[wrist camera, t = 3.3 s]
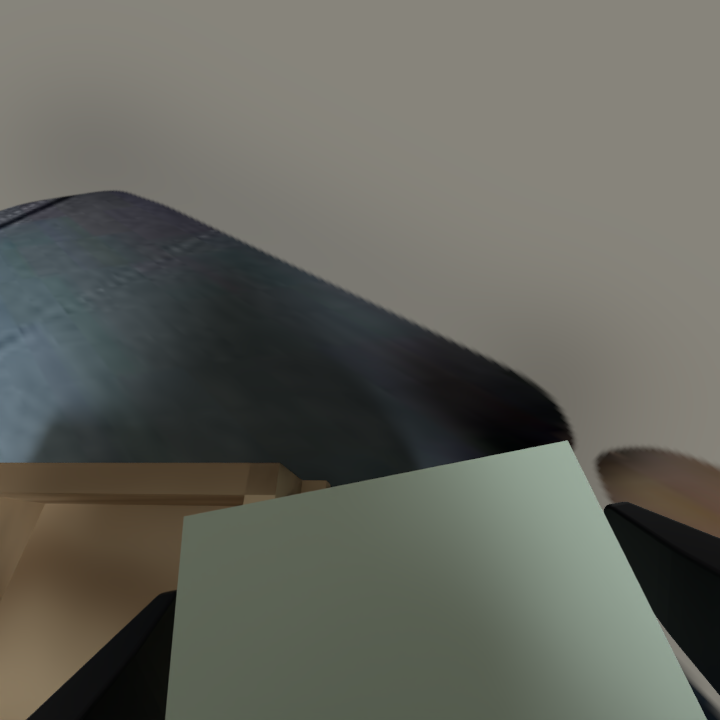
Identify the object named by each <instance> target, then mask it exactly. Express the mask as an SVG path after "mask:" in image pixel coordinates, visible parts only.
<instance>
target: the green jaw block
mask: <svg viewBox="0 0 720 720" xmlns="http://www.w3.org/2000/svg"><path fill="white" fill-rule="evenodd" d="M165 720H707V719H706V717H705V715H704V713H703V711H702V709H701V707H700V705H699V703H698V701H697V699H696V697H695V695H694V693H693V691H692V689H691V687H690V685H689V683H688V681H687V679H686V677H685V675H684V673H683V671H682V669H681V667H680V665H679V663H678V661H677V659H676V657H675V655H674V653H673V651H672V649H671V647H670V645H669V643H668V641H667V639H666V637H665V635H664V633H663V631H662V629H661V627H660V625H659V623H658V621H657V619H656V617H655V615H654V613H653V611H652V609H651V607H650V605H649V603H648V601H647V599H646V597H645V595H644V593H643V591H642V589H641V587H640V585H639V583H638V581H637V579H636V577H635V575H634V573H633V571H632V569H631V567H630V565H629V563H628V560H627V558H626V556H625V554H624V552H623V550H622V548H621V546H620V544H619V542H618V540H617V538H616V536H615V534H614V532H613V530H612V528H611V526H610V524H609V522H608V520H607V518H606V516H605V514H604V512H603V511H602V508H601V506H600V504H599V503H598V500H597V498H596V496H595V494H594V493H593V490H592V488H591V486H590V484H589V482H588V480H587V478H586V476H585V474H584V472H583V470H582V468H581V466H580V464H579V462H578V460H577V458H576V456H575V454H574V452H573V450H572V448H571V446H570V444H569V442H568V441H563V442H558V443H553V444H548V445H543V446H538V447H533V448H527V449H522V450H517V451H512V452H507V453H502V454H497V455H492V456H487V457H482V458H477V459H472V460H467V461H462V462H457V463H452V464H447V465H442V466H437V467H432V468H427V469H421V470H416V471H411V472H406V473H401V474H396V475H391V476H386V477H381V478H376V479H371V480H366V481H361V482H356V483H351V484H346V485H341V486H336V487H331V488H326V489H320V490H315V491H310V492H305V493H300V494H295V495H290V496H285V497H280V498H275V499H270V500H265V501H260V502H255V503H250V504H245V505H240V506H235V507H230V508H225V509H219V510H214V511H209V512H204V513H199V514H194V515H189V516H184V520H183V530H182V541H181V552H180V563H179V574H178V585H177V596H176V607H175V617H174V628H173V639H172V650H171V661H170V672H169V683H168V694H167V704H166V715H165Z"/></svg>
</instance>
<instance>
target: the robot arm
mask: <svg viewBox="0 0 720 720" xmlns="http://www.w3.org/2000/svg"><path fill="white" fill-rule="evenodd" d="M604 514H605V516H606V518H607V520H608V522H609V524H610V526H611V528H612V530H613V532H614V534H615V536H616V538H617V540H618V542H619V544H620V546H621V548H622V550H623V552H624V554H625V556H626V558H627V560H628V563H629V565H630V567H631V569H632V571H633V573H634V575H635V577H636V579H637V581H638V583H639V585H640V587H641V589H642V591H643V593H644V595H645V597H646V599H647V601H648V603H649V605H650V607H651V609H652V611H653V613H654V614H655V615H656V617H657V618H658V619H659V621H660V622H661V624H662V625H663V626H664V628H665V629H666V630H667V632H668V633H669V634H670V635H671V637H672V638H673V639H674V640H675V641H676V643H677V644H678V645H679V647H680V648H681V649H682V650H683V651H684V653H685V654H686V655H687V656H688V657H689V659H690V660H691V661H692V662H693V663H694V664H695V666H696V667H697V668H698V670H699V671H700V672H701V673H702V674H703V676H704V677H705V678H706V679H707V680H708V682H709V683H710V684H711V685H712V687H713V688H714V689H715V690H716V691H717V693H718V694H719V695H720V538H718V537H715V536H712V535H710V534H707V533H705V532H702V531H700V530H697V529H695V528H692V527H690V526H687V525H685V524H682V523H680V522H677V521H675V520H672V519H669V518H667V517H664V516H662V515H659V514H657V513H654V512H652V511H649V510H647V509H644V508H642V507H639V506H637V505H634V504H632V503H629V502H619V503H614V504H609V505H607V506H606V507H605V509H604ZM176 596H177V590H172V591H167V592H163V593H161V594H159V595H158V596H156V597H155V598H154V599H153V600H152V601H151V602H150V603H149V604H148V605H147V606H146V607H145V608H144V609H143V610H142V611H141V612H139V613H138V614H137V615H136V616H135V617H134V618H133V619H132V620H131V621H130V622H129V623H128V624H127V625H126V626H125V627H124V628H123V629H121V630H120V631H119V632H118V633H117V634H116V635H115V636H114V637H113V638H112V639H111V640H110V641H109V642H108V643H107V644H106V645H105V646H103V647H102V648H101V649H100V650H99V651H98V652H97V653H96V654H95V655H94V656H93V657H92V658H91V659H90V660H89V661H88V662H86V663H85V664H84V665H83V666H82V667H81V668H80V669H79V670H78V671H77V672H76V673H75V674H74V675H73V676H72V677H71V678H70V679H68V680H67V681H66V682H65V683H64V684H63V685H62V686H61V687H60V688H59V689H58V690H57V691H56V692H55V693H54V694H53V695H52V696H50V697H49V698H48V699H47V700H46V701H45V702H44V703H43V704H42V705H41V706H40V707H39V708H38V709H37V710H36V711H35V712H34V713H32V714H31V715H30V716H29V717H28V718H27V719H26V720H165V715H166V704H167V694H168V683H169V672H170V661H171V650H172V639H173V628H174V617H175V607H176Z"/></svg>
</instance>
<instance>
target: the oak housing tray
mask: <svg viewBox="0 0 720 720" xmlns="http://www.w3.org/2000/svg"><path fill="white" fill-rule="evenodd" d="M330 487H331V485H330V484H329V483H328V482H327V481H326V480H301V479H300V478H298V477H297V476H296V475H295V474H293V473H292V472H291V471H290V470H288V469H287V468H286V467H284V466H283V465H282V464H281V463H0V720H26V719H27V718H28V717H29V716H30V715H31V714H32V713H34V712H35V711H36V710H37V709H38V708H39V707H40V706H41V705H42V704H43V703H44V702H45V701H46V700H47V699H48V698H49V697H50V696H52V695H53V694H54V693H55V692H56V691H57V690H58V689H59V688H60V687H61V686H62V685H63V684H64V683H65V682H66V681H67V680H68V679H70V678H71V677H72V676H73V675H74V674H75V673H76V672H77V671H78V670H79V669H80V668H81V667H82V666H83V665H84V664H85V663H86V662H88V661H89V660H90V659H91V658H92V657H93V656H94V655H95V654H96V653H97V652H98V651H99V650H100V649H101V648H102V647H103V646H105V645H106V644H107V643H108V642H109V641H110V640H111V639H112V638H113V637H114V636H115V635H116V634H117V633H118V632H119V631H120V630H121V629H123V628H124V627H125V626H126V625H127V624H128V623H129V622H130V621H131V620H132V619H133V618H134V617H135V616H136V615H137V614H138V613H139V612H141V611H142V610H143V609H144V608H145V607H146V606H147V605H148V604H149V603H150V602H151V601H152V600H153V599H154V598H155V597H156V596H158V595H159V594H161V593H163V592H167V591H172V590H177V585H178V574H179V563H180V552H181V541H182V530H183V520H184V516H189V515H194V514H199V513H204V512H209V511H214V510H219V509H225V508H230V507H235V506H240V505H245V504H250V503H255V502H260V501H265V500H270V499H275V498H280V497H285V496H290V495H295V494H300V493H305V492H310V491H315V490H320V489H326V488H330Z"/></svg>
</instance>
